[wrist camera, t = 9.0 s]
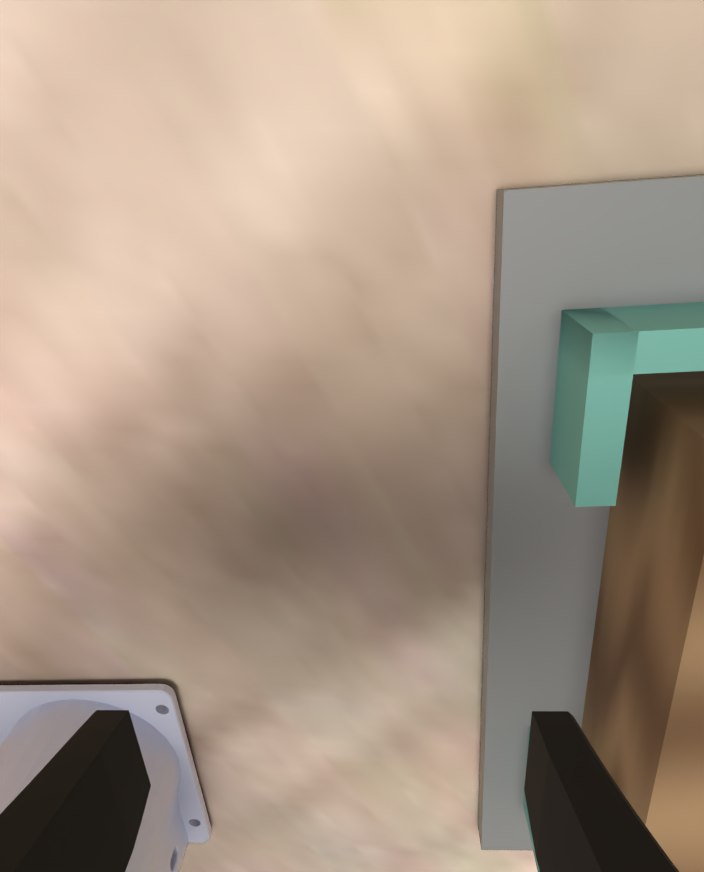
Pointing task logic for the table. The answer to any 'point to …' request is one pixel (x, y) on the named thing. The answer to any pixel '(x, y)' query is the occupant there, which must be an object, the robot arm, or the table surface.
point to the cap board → (568, 436)
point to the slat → (655, 618)
